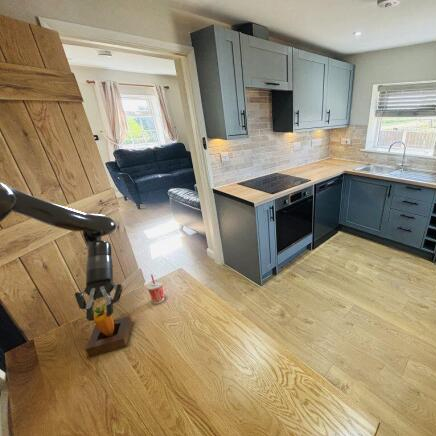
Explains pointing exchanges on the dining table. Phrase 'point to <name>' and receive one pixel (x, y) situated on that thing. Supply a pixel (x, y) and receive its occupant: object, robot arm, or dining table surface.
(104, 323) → the carrot
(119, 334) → the socket block
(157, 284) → the beverage cup
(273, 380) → the dining table surface
